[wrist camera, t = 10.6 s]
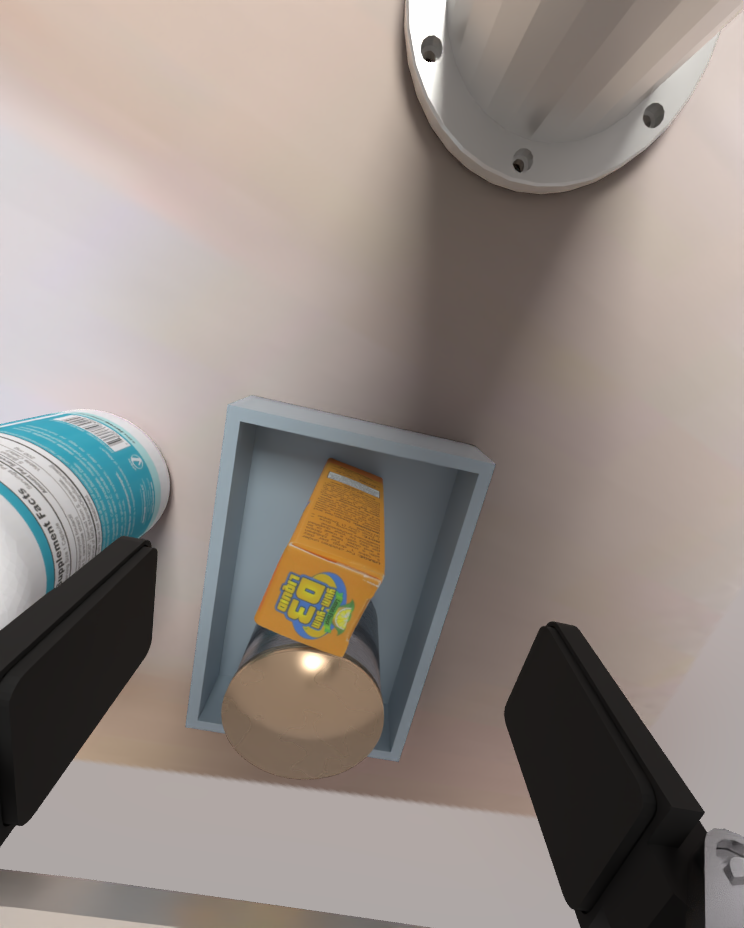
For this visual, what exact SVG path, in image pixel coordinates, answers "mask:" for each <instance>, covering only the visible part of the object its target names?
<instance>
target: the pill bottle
mask: <svg viewBox="0 0 744 928" xmlns="http://www.w3.org/2000/svg"><path fill="white" fill-rule="evenodd" d="M169 493H170V479H169V473H168V468H167V465H166V463H165V460H164V458H163V456H162V454H161V452H160V450H159V449H158V447H157V446H156V445H155V443H154V442H153V441H152V440H151V438H150V437H149V436H148V435H147V434H146V433H145V432H144V431H142V430H141V429H140V428H139V427H137V426H136V425H134V424H133V423H131V422H130V421H128V420H126V419H124V418H122V417H120V416H117V415H115V414H112V413H108V412H104V411H100V410H91V409H77V410H69V411H64V412H58V413H52V414H47V415H43V416H38V417H33V418H28V419H23V420H18V421H13V422H9V423H4V424H0V630H1V629H3V628H4V627H5V626H6V625H8V624H9V623H10V622H11V621H13V620H14V619H15V618H16V617H18V616H19V615H20V614H21V613H23V612H24V611H25V610H26V609H28V608H29V607H30V606H32V605H33V604H34V603H35V602H37V601H38V600H39V599H40V598H42V597H43V596H44V595H45V594H47V593H48V592H49V591H51V590H53V589H54V588H56V587H58V586H59V585H60V584H61V583H63V582H64V581H65V580H66V579H68V578H69V577H70V576H71V575H73V574H74V573H75V572H76V571H78V570H79V569H80V568H81V567H83V566H84V565H85V564H86V563H88V562H89V561H90V560H91V559H93V558H94V557H95V556H96V555H98V554H99V553H100V552H101V551H103V550H104V549H105V548H106V547H108V546H109V545H110V544H111V543H113V542H114V541H115V540H116V539H118V538H119V537H121V536H129V537H134V538H140V537H141V536H143V535H144V534H145V533H146V532H147V531H148V530H149V529H151V528H152V527H153V526H154V525H155V523H156V522H157V521H158V520H159V519H160V517H161V515H162V514H163V512H164V510H165V508H166V505H167V502H168V498H169Z"/></svg>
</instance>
